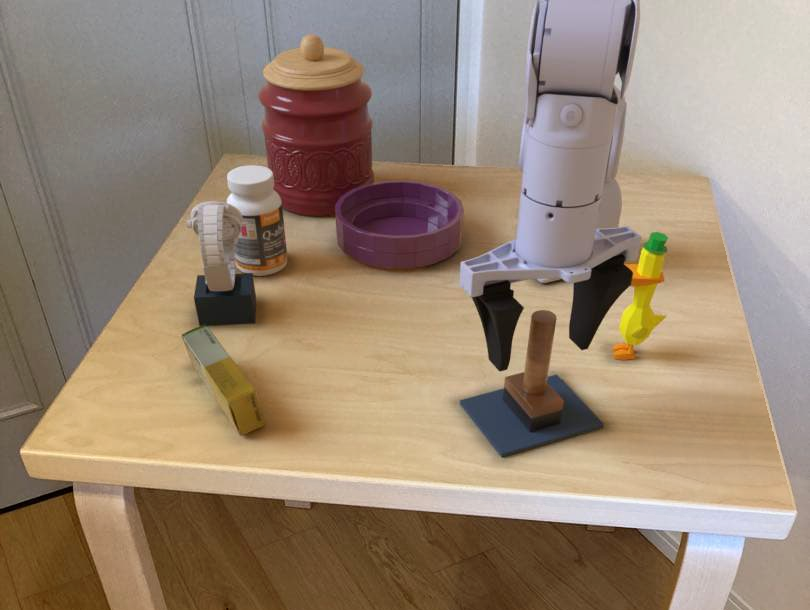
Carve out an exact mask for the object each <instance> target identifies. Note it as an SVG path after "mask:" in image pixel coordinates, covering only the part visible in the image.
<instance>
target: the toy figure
mask: <svg viewBox="0 0 810 610" xmlns="http://www.w3.org/2000/svg"><path fill="white" fill-rule="evenodd" d="M668 240H669V237H668V236H667V235H666V234H665V233H662V232H659V231H655V232H651V233H650V235H649V239H648V240H647V241H645V242H643V243H642V248H641V251H640V255H639V260H638V263H624V265H626V266H627V267H628V268H629V269H630V270H631V271H632V272H633V277H632V282H631V285H630V286H629V287H634V289H633V302H632V303H631V304H629V306H627V307H625V309H624V311H623V312H622V314H621V317H620V322H619V327H618V331H619V333H620V335H621V338H622V339H623V341H624V342H625V343H623V342H620V343H617V344H614V345H613V346H612V352H613V358H614V359H615V360H619V361H627V360H635V359H636V355H635V350H634V347H635V346H638V345H641V344H642V343H643V342H644V341H646V340H647V339H648V338H650V335H651V333H652V331H653V330H654V329H655V328H656V327H657V326H659V324H660V323H662V322H663V321H664V320H665V319H666V318H667V317H668V315H662V314H655V313H654V311H653V309H652V307H651V305H650V304H651V302H652V299H653V296H654V294H655V291H656V289H657V286H658V284H663V283H664V282H665V281H666V279H665V276H664V272H663V271H662V269H663V265H664V261H665V258H666V257H665V256H666V253H667V252H668V247H667V246H666V243H667V241H668Z"/></svg>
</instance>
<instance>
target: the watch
mask: <svg viewBox="0 0 810 610" xmlns="http://www.w3.org/2000/svg"><path fill="white" fill-rule="evenodd" d="M242 221H243V219H242V214H241V212H240V211H239V210H238V209H237V208H235V207H234V206H232V205H230V204H228V203H227V202H224V201H217V200H209V201H204V202H201V203H199V204H197V205H195V206H194V207H193V208H192V210H191V211H190V219H186V228H187V229H192V230H193V232H194V233H195V235H197V236H198V238H199V247H200V252H201V253H200V254H201V259H202V267H201V268H202V271H203V274H197V275H196V282H195V288H194V294H193V301H194V305H195V310H196V315H197V320H198V327H200V326H203V325H207V326H224V325H226V326H228V325H246V324H247V325H249V324H256V315H257V295H256V288H255V287H256V286H255V281H254V275H253V273H243V272H241V273H236V263H235V251H234V245H237V244H238V239H239V235H240V232H241V230H242Z"/></svg>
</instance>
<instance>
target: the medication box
mask: <svg viewBox="0 0 810 610" xmlns="http://www.w3.org/2000/svg"><path fill="white" fill-rule="evenodd" d="M181 338H182V341H183V343H184V345H185V348H186V351H187V354H188V357H189V359H190V361H191V364H192V367H193V369H194V370H195V371H196V373H197V374H198V376H199V377H200V379H201V380H202V382H203V383H204V385H205V387H207V389H208V391H209V392H210V393H211V395H212V397H213V398H214V399H215V401H216V403H217V404H218V405H219V407H220V408H221V410H222V411H223V413H224V414H225V416H226V417H227V419H228V420H229V421H230V423H231V425H232V426H233V428H234V429H235V431H236V432H237V433H238V435H239V436H242V437H243V435H246V434H248V433H251V432H253V431H255V430H257V429H259V428H261V427H263V426H265V425H266V423H267V422H266V420H265V417H264V414H263V411H262V407H261V404H260V401H259V397H258V394H257V391H256V389H255V388H254V387H253V385H252V383H250V382H249V380H248V378H247V377H246V376H245V374H244V373H243V372H242V370H241V369H240V368H239V366H238V365H237V364H236V363H235V361H234V360H233V359H232V357H231V355H229V353H228V352H227V350H226V349H225V348H224V346H223V345H222V344H221V342H220V341H219V339H218V338H217V337H216V335H214V332H212V330H211V329H210V327H208V325H203V326H197V327H195V328H192V329H189V330H187V331H186V332H184V333H182V334H181Z"/></svg>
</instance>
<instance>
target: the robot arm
mask: <svg viewBox="0 0 810 610" xmlns="http://www.w3.org/2000/svg"><path fill="white" fill-rule="evenodd" d="M534 3H535V4H534V7H533V10H532V12H531V13H532V14H531V19H530V26H529V33H528V42H527V49H526V50H527V51H526V61H525V82H526V106H525V107H526V108H525V114H524V119H523V124H522V131H521V138H520V144H519V145H520V146H519V157H518V169H519V171H520V172H521V174H522V175H521V176H522V177H521V185H520V186H521V187H520V195H519V206H518V214H517V216H518V217H517V224H516V234H515V238H514V239H512V240H510V241H507V242H506V243H504V244H502V245H500V246H497V247H495V248H493V249H492V250H489V251H487V252H485V253H483V254H480V255H478V256H477V257H473V258H470V259H467V260H462V261H460V269H459V287H461V289H462V290H463V291H464V292H465V293H466V294H467V295H468V296H469V297H470V298H471V299H472V301H473V304H474V306H475V309H476V312H477V313H478V316H479V319H480V322H481V325H482V330H483V333H484V338H485V342H486V350H487V358H488V360H489V362H490V363H491V364H492V366H494V367H495V369H497V371H498V372H504V371H508V368H509V366H510V362H511V357H512V356H511V355H512V349H513V339H514V335H515V331H516V328H517V325H518V322H519V320H520V317H521V315H522V313H523V311H524V310H525V307H524V306H523V305H522V304H521V303H520V302H519V301H518V300H517V299H516V298H515V297H514V293H515V291H514V289H512V288H511V285H512V284H515V283H520V282H523V281H528V280H537V281H538V282H539V283H541V284H547V283H552V282H557V281H560V280H563V281H564V282H565V283H568V284H573V286H572V287H573V290H572V303H571V310H570V317H569V325H568V339H570V341H571V342H572V343H573V344H574V345H575V346H577V347H578V348H579V349H580V350H581V351H584V350H585V351H586V350H589V347H590V345H591V344H592V341H593V339H594V338H595V336H596V334H597V331H598V329H599V328H600V326H601V324H602V322H603V320H604V318H605V317H606V316H607V314H608V312H609V310H610V309H611V308H612V306H613V305H614V304H615V302H616V301H617V300H618V299H619V298H620V297H621V296H622V294H623V293H625V292H626V291H627V289H629V287H631V286H630V285H631V282H632V277H633V272H632V271H631V270H630V269H629V268H628V267H627V266H626V265H624V264H625V263H627V262H632V261H637V260H638V257H639V253H640V247H641V243H642V238H643V237H642V235H641V234H639V233H638V232H636V231H635V230H634V229H633V228H632V227H631V226H629V225H625V226H619V225H620V220H621V214H622V208H623V200H622V192H621V187H620V185H619V183H618V181H617V179H616V177H617V174H618V168H619V165H620V158H621V153H622V149H623V142H624V135H625V127H626V118H627V117H626V115H627V108H628V106H627V105H628V103H627V102H626V96H625V95H626V91H627V89H628V86H629V84H630V79H631V75H632V70H633V67H634V66H633V65H634V60H635V55H636V49H637V42H638V38H639V37H638V36H639V31H640V30H639V29H640V22H641V2H640V0H542V1H541V3H540V0H535V2H534ZM617 75H619V78H620V82H621V86H620V89H619V88H618V87H617V86H616V85H615V80H616V76H617Z"/></svg>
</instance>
